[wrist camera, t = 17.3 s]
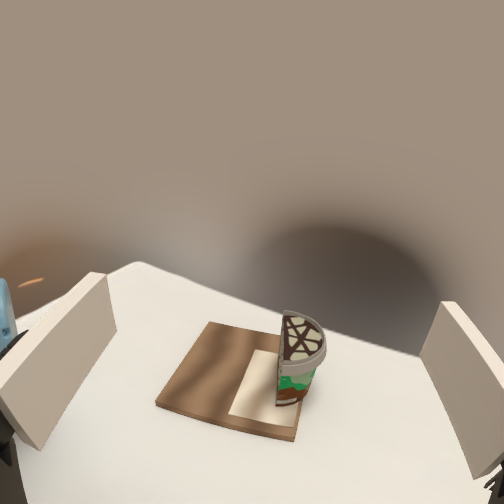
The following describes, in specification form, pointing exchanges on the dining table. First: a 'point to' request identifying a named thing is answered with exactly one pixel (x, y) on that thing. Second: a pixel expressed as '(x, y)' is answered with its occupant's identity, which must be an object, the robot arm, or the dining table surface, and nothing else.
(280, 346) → the food container
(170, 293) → the dining table surface
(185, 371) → the board
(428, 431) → the dining table surface
